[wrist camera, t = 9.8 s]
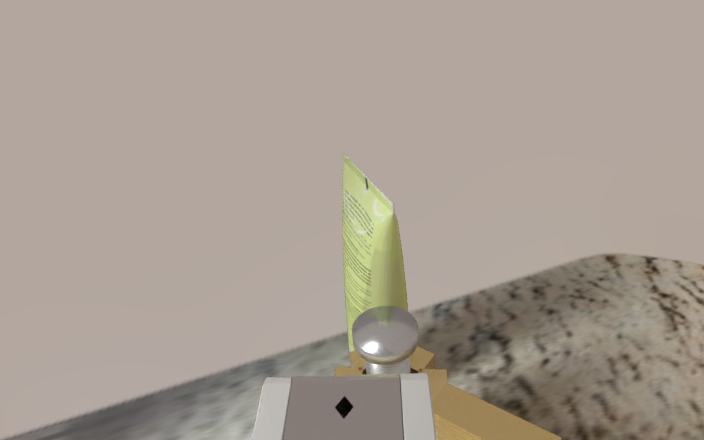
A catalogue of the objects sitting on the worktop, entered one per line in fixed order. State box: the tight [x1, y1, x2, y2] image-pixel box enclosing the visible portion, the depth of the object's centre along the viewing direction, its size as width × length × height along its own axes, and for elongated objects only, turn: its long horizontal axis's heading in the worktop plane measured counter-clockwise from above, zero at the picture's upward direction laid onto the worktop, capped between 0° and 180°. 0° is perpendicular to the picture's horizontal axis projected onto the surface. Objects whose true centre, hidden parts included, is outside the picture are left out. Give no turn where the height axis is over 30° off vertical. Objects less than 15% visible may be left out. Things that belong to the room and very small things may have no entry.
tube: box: [342, 153, 408, 352], centre depth 37 cm, size 6×5×20 cm
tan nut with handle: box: [334, 346, 561, 440], centre depth 29 cm, size 6×12×6 cm, turn 54°
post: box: [352, 306, 418, 376], centre depth 31 cm, size 11×10×15 cm
